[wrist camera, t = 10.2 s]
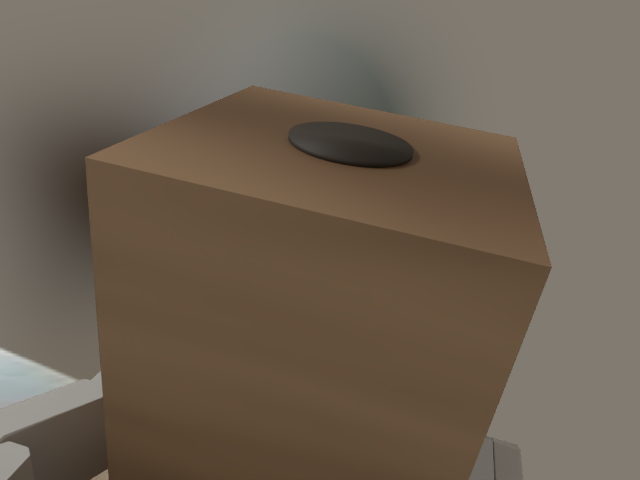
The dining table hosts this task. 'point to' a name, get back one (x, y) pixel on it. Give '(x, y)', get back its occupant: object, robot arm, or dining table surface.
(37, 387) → the dining table surface
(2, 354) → the dining table surface
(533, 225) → the block
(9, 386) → the dining table surface
